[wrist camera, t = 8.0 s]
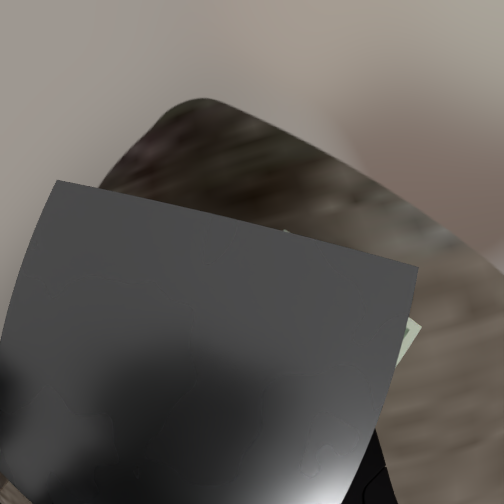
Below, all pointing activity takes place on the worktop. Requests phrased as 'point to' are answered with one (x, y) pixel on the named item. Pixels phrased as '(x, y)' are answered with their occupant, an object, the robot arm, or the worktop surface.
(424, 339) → the worktop surface
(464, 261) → the worktop surface
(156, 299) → the tin
